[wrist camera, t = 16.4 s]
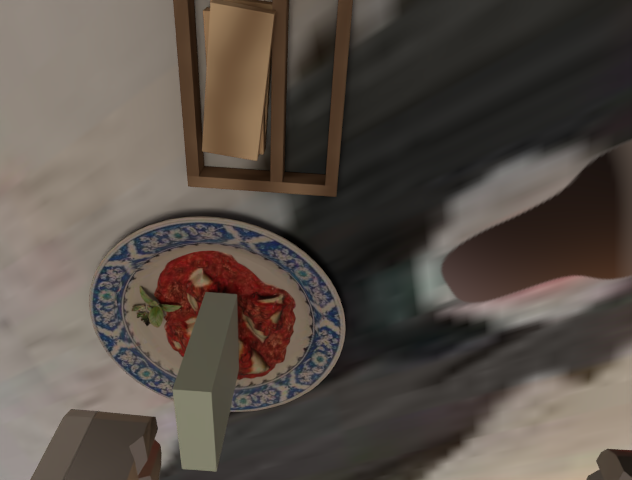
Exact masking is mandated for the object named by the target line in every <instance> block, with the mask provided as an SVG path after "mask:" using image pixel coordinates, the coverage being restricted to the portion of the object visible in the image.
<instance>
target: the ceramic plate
mask: <svg viewBox="0 0 632 480" xmlns="http://www.w3.org/2000/svg"><path fill="white" fill-rule="evenodd" d="M205 292H213V293H226V294H237V310H238V349H239V371H238V376H237V381H236V385H235V390H234V394H233V399H232V403H231V408H230V412H242V411H256V410H261V409H266V408H270V407H274V406H278V405H281V404H285V403H287V402H289V401H292V400H294V399H296V398H298V397H300V396H302V395H303V394H305V393H307V392H308V391H310V390H312V389H313V388H314V387H315V386H317V385H318V384H319V383H320V382H321V381H322V380H323V379H324V378H325V377H326V376H327V375H328V373H329V372H330V371H331V370H332V368H333V367H334V365H335V364H336V362H337V360H338V358H339V356H340V353H341V350H342V347H343V343H344V339H345V317H344V311H343V307H342V304H341V301H340V298H339V296H338V293H337V291H336V289H335V287H334V285H333V284H332V282H331V280H330V279H329V277H328V276H327V275H326V273H325V272H324V271H323V269H322V268H321V267H320V266H319V265H318V264H317V263H316V262H315V261H314V260H313V259H312V258H311V257H310V256H309V255H308V254H306V253H305V252H304V251H303V250H301V249H300V248H299V247H297V246H296V245H294V244H293V243H291V242H290V241H288V240H286V239H285V238H283V237H281V236H279V235H277V234H275V233H273V232H271V231H269V230H266V229H264V228H261V227H259V226H256V225H252V224H249V223H246V222H242V221H237V220H233V219H227V218H220V217H206V216H196V217H183V218H175V219H168V220H165V221H162V222H158V223H155V224H151V225H149V226H146V227H144V228H142V229H139V230H137V231H136V232H134V233H132V234H130V235H129V236H127V237H126V238H124V239H123V240H122V241H120V242H119V243H118V244H117V245H116V246H115V247H113V248H112V249H111V250H110V251H109V252H108V254H107V255H106V256H105V257H104V259H103V260H102V262H101V263H100V265H99V266H98V268H97V270H96V272H95V275H94V277H93V281H92V284H91V288H90V295H89V307H90V315H91V319H92V323H93V327H94V329H95V332H96V334H97V336H98V338H99V340H100V342H101V344H102V345H103V347H104V348H105V350H106V352H107V353H108V354H109V356H110V357H111V358H112V359H113V360H114V361H115V362H116V363H117V364H118V366H119V367H120V368H122V369H123V370H124V371H125V372H126V373H127V374H128V375H129V376H131V377H132V378H133V379H134V380H136V381H137V382H138V383H140V384H142V385H143V386H145V387H147V388H148V389H150V390H152V391H154V392H156V393H158V394H160V395H162V396H164V397H166V398H169V399H171V400H174V398H173V390H172V389H173V386H174V383H175V380H176V378H177V375H178V372H179V369H180V366H181V363H182V360H183V357H184V354H185V351H186V348H187V345H188V342H189V339H190V336H191V333H192V330H193V327H194V325H195V322H196V319H197V316H198V313H199V310H200V307H201V304H202V301H203V298H204V295H205Z"/></svg>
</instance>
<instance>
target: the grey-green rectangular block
mask: <svg viewBox="0 0 632 480" xmlns="http://www.w3.org/2000/svg"><path fill="white" fill-rule="evenodd" d="M238 371H239V349H238V310H237V294H226V293H213V292H205V295H204V298H203V301H202V304H201V307H200V310H199V313H198V316H197V319H196V322H195V325H194V327H193V330H192V333H191V336H190V339H189V342H188V345H187V348H186V351H185V354H184V357H183V360H182V363H181V366H180V369H179V372H178V375H177V378H176V380H175V383H174V386H173V389H172V390H173V398H174V406H175V414H176V422H177V431H178V439H179V447H180V455H181V464H182V469H191V470H205V471H217V467H218V463H219V458H220V454H221V449H222V444H223V440H224V435H225V431H226V426H227V422H228V417H229V413H230V408H231V403H232V399H233V394H234V390H235V385H236V381H237V376H238Z"/></svg>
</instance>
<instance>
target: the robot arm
mask: <svg viewBox="0 0 632 480" xmlns="http://www.w3.org/2000/svg"><path fill="white" fill-rule="evenodd" d="M157 430H158V427H157V422H156V417H151V416H140V415H130V414H120V413H110V412H100V411H88V410H75V409H71V410H70V411H69V412H68V413H67V414H66V415H65V416H64V417H63V419H62V421H61V423H60V424H59V426H58V428H57V430H56V432H55V434H54V436H53V438H52V440H51V442H50V444H49V445H48V447H47V449H46V451H45V453H44V455H43V457H42V459H41V461H40V463H39V464H38V466H37V468H36V470H35V472H34V474H33V476H32V478H31V480H159V475H160V469H161V446H160V444H159V443H158V442H157V441H156V440H155V436H156V433H157ZM596 462H597V464H598V466H599V469H600V470H598V471H596V472H594V473H593V474H591V475H589V476H588V477H587V480H632V450H618V449H606V450H604V451H603V452H601V453H600V455H599V457H598V459H597V460H596Z"/></svg>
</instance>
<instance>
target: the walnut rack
mask: <svg viewBox="0 0 632 480" xmlns="http://www.w3.org/2000/svg"><path fill="white" fill-rule="evenodd" d="M173 3H174V16H175V28H176V41H177V53H178V66H179V78H180V91H181V103H182V116H183V128H184V141H185V153H186V166H187V178H188V186H190V187H204V188H219V189H233V190H247V191H261V192H276V193H290V194H304V195H319V196H333V197H336V193H337V181H338V169H339V157H340V146H341V134H342V122H343V110H344V99H345V87H346V75H347V63H348V52H349V40H350V28H351V16H352V5H353V0H338V12H337V26H336V40H335V54H334V68H333V82H332V96H331V110H330V124H329V138H328V152H327V166H326V175H323V174H309V173H294V172H285V134H286V96H287V58H288V20H289V0H272V10H275V11H276V16H275V24H274V32H273V41H272V85H271V171H265V170H251V169H237V168H222V167H208V166H204V154H203V151H202V142H203V138H202V122H201V105H200V89H199V72H198V56H197V39H196V23H195V6H194V0H173Z"/></svg>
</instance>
